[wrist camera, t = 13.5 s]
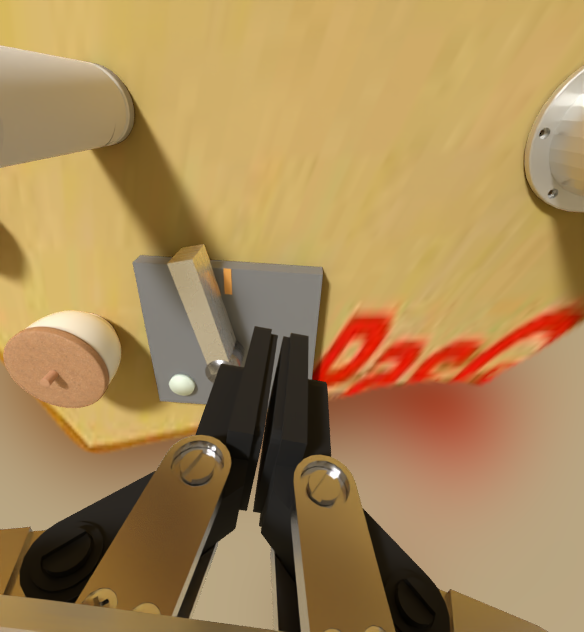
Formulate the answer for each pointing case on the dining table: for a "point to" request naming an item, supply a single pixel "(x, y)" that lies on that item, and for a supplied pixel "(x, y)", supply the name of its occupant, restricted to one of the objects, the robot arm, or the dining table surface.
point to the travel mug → (58, 106)
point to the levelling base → (243, 311)
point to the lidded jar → (65, 358)
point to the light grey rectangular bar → (205, 308)
